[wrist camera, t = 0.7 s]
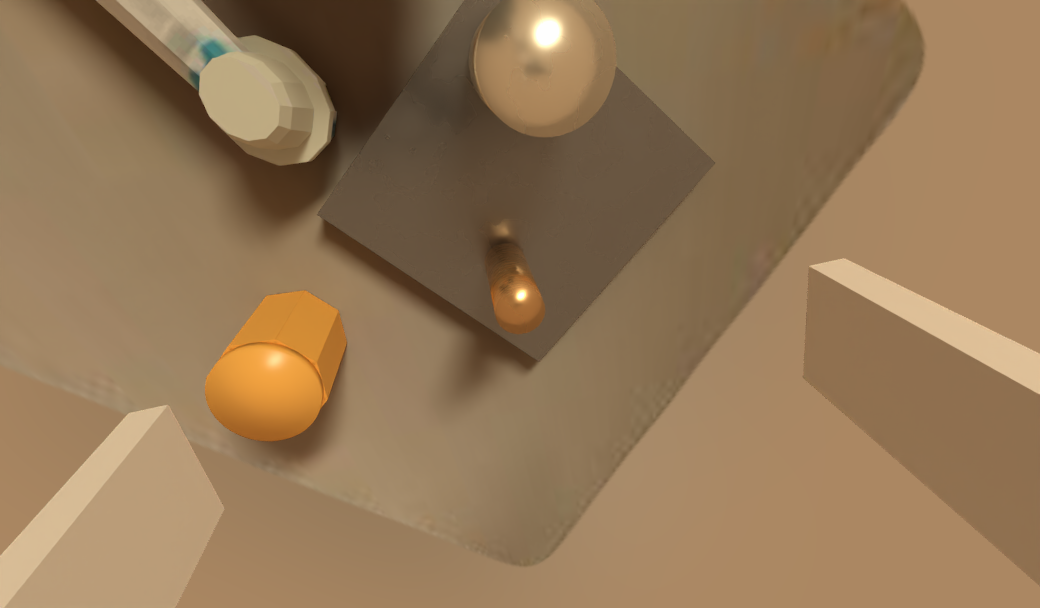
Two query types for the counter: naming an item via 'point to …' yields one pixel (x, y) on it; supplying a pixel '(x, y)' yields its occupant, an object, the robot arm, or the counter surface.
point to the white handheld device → (237, 78)
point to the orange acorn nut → (278, 368)
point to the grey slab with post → (517, 168)
